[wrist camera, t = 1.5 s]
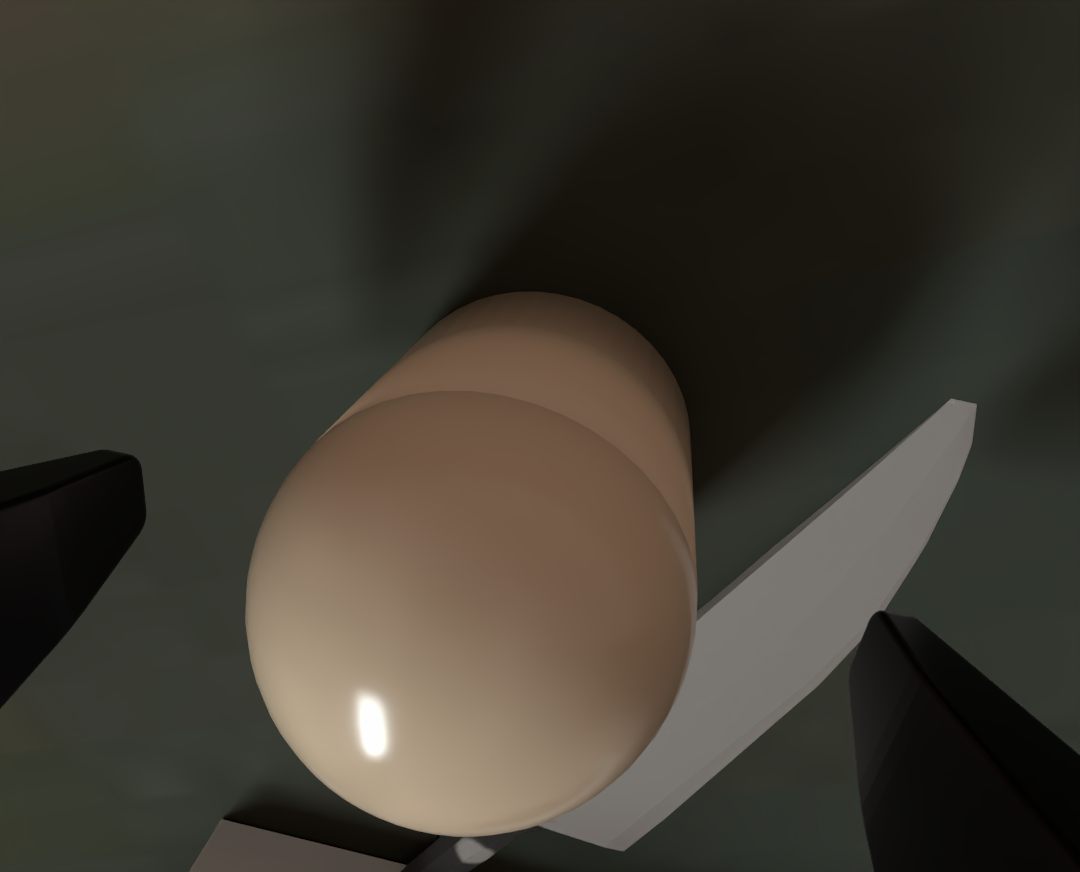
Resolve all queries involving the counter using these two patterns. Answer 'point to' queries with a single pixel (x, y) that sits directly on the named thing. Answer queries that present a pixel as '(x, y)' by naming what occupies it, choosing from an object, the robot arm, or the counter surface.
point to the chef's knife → (769, 638)
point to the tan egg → (484, 572)
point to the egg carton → (279, 854)
